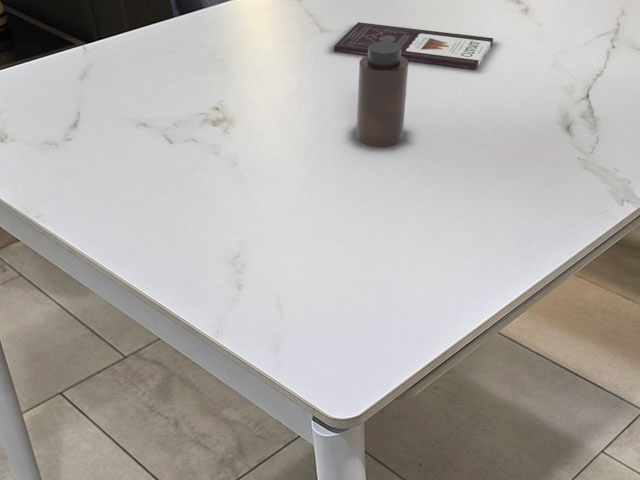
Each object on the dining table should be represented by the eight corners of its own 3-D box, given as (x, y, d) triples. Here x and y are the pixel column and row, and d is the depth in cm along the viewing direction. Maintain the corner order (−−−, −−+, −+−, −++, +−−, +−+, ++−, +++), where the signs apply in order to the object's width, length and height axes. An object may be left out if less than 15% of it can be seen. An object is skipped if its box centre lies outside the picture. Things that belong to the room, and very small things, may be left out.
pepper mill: (402, 129, 91) (409, 38, 85) (402, 151, 87) (410, 56, 81) (357, 128, 92) (360, 38, 86) (355, 149, 88) (359, 56, 82)
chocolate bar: (358, 22, 114) (493, 38, 108) (358, 29, 115) (492, 45, 108) (334, 45, 108) (476, 64, 101) (334, 53, 109) (475, 71, 102)
